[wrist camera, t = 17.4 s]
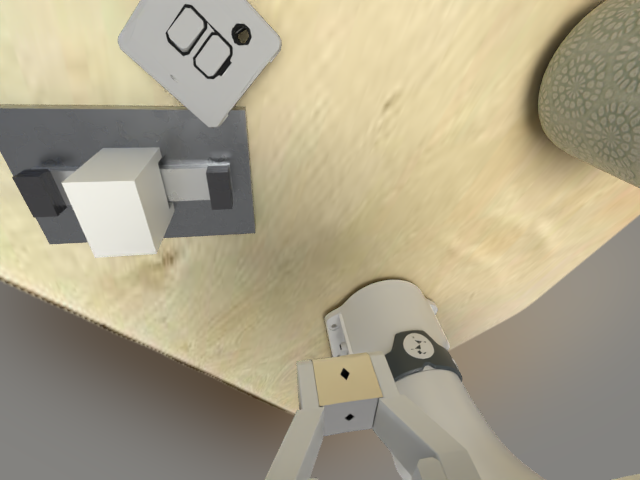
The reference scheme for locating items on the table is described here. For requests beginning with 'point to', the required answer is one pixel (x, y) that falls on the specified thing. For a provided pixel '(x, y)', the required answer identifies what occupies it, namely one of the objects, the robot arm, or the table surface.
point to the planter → (597, 91)
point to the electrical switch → (200, 50)
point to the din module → (121, 201)
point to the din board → (132, 132)
